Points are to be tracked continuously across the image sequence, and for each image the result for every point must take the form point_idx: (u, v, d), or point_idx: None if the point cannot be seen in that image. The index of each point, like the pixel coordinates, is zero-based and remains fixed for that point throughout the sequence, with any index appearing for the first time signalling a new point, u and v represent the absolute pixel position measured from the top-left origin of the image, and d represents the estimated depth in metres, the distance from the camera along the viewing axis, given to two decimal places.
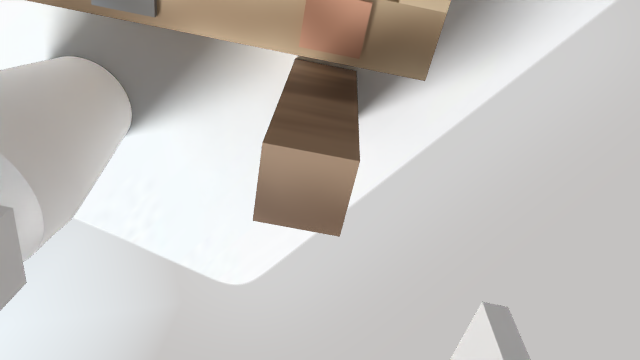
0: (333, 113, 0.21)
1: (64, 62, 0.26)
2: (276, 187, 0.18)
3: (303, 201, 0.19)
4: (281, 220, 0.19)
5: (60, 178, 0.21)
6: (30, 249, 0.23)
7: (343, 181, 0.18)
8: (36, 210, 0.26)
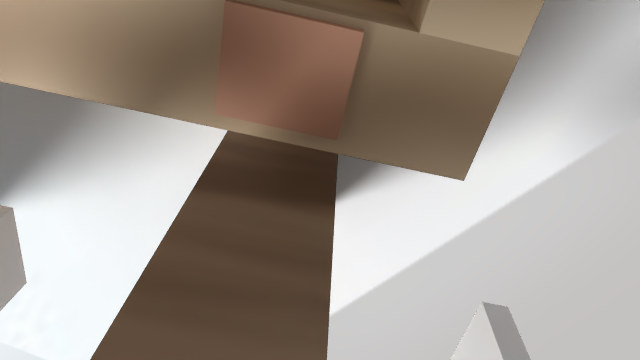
0: (282, 247, 0.11)
1: None
2: None
3: None
4: None
5: None
6: None
7: None
8: None
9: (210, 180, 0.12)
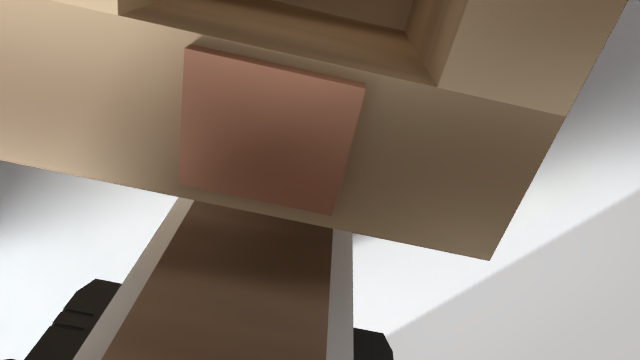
0: (264, 350, 0.08)
1: None
2: None
3: None
4: None
5: None
6: None
7: None
8: None
9: (179, 252, 0.10)
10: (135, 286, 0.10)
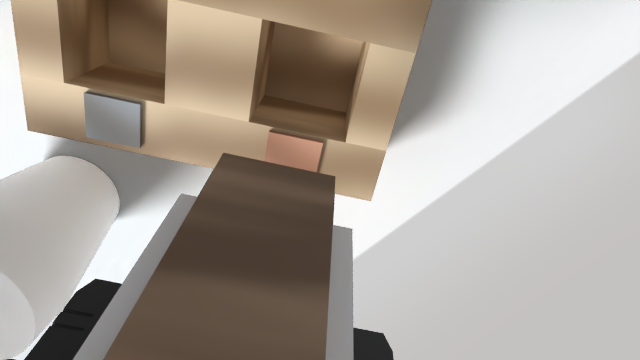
0: (263, 353, 0.08)
1: (60, 165, 0.30)
2: None
3: None
4: None
5: (52, 284, 0.24)
6: (21, 341, 0.26)
7: None
8: None
9: (178, 255, 0.10)
10: (135, 286, 0.10)
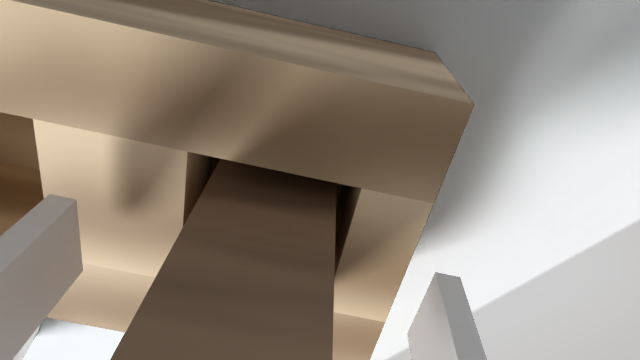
0: (288, 249, 0.11)
1: None
2: None
3: None
4: None
5: None
6: None
7: None
8: None
9: (216, 186, 0.13)
10: None
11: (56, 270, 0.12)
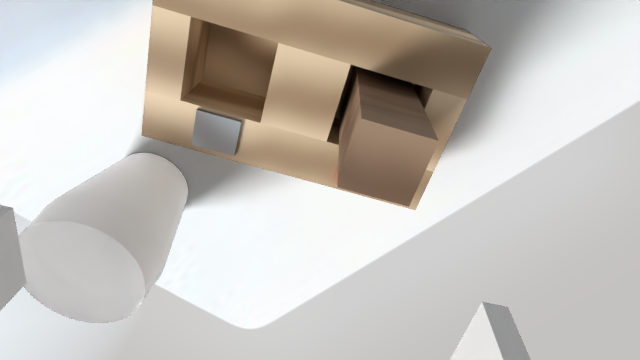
0: (404, 104, 0.25)
1: (147, 162, 0.35)
2: (364, 158, 0.22)
3: (384, 172, 0.22)
4: (362, 188, 0.23)
5: (156, 263, 0.29)
6: (120, 308, 0.31)
7: (421, 157, 0.21)
8: (116, 273, 0.34)
9: (363, 82, 0.26)
10: None
11: None
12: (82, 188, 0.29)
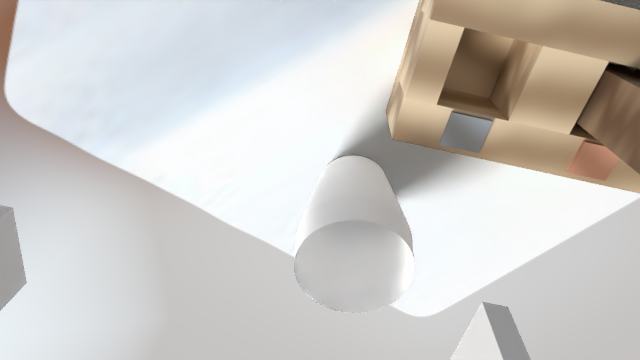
0: None
1: (364, 164, 0.38)
2: None
3: None
4: None
5: (412, 255, 0.32)
6: (370, 298, 0.34)
7: None
8: (344, 268, 0.37)
9: (621, 77, 0.28)
10: None
11: None
12: (342, 190, 0.32)
